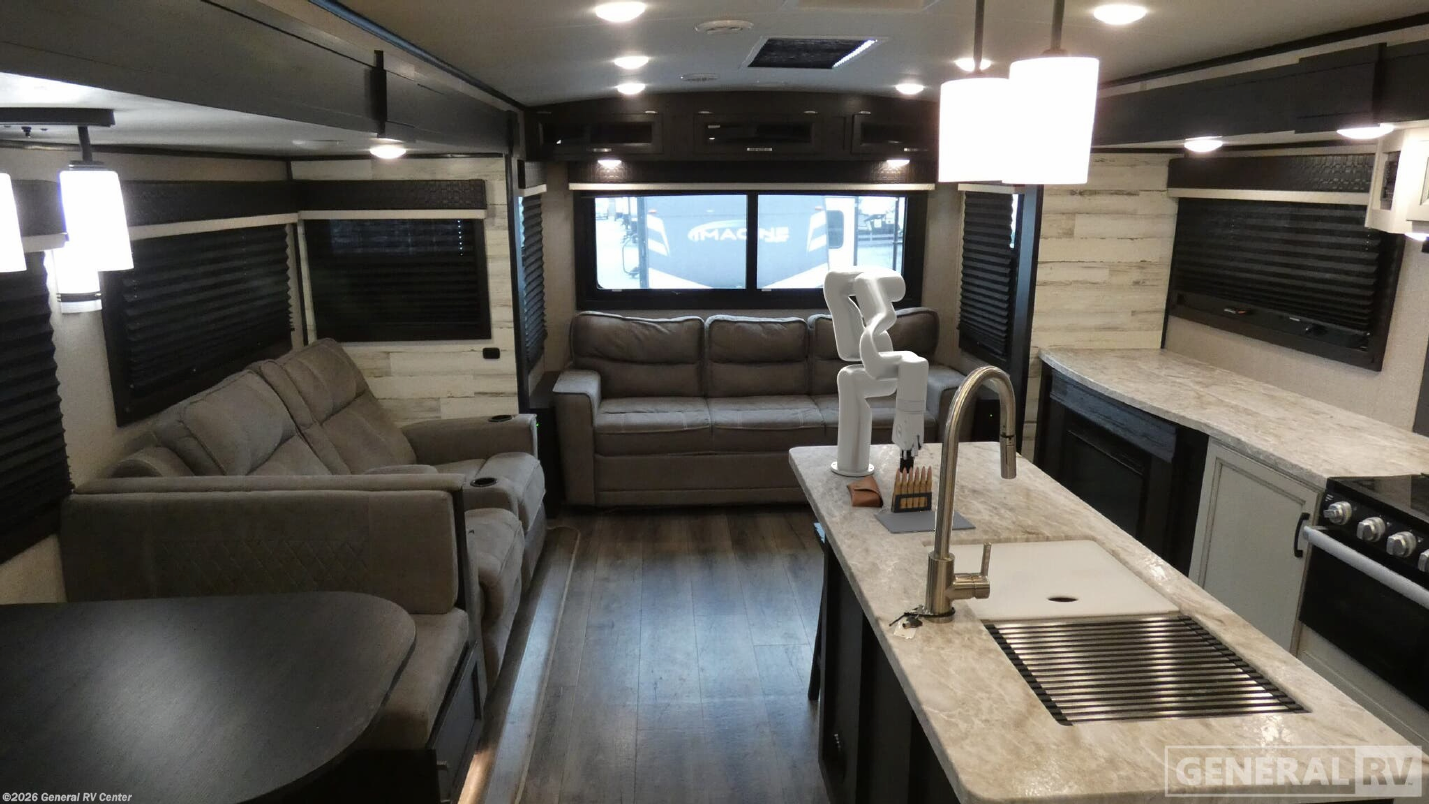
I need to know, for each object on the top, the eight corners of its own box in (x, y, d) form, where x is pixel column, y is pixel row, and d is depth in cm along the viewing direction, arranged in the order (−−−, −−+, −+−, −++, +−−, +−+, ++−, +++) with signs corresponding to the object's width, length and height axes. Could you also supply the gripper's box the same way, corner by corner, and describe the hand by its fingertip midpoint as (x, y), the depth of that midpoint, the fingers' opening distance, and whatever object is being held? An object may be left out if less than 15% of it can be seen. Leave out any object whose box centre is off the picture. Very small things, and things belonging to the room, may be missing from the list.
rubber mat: (873, 515, 228) (873, 514, 228) (954, 511, 232) (954, 509, 232) (891, 533, 217) (891, 532, 217) (975, 528, 221) (975, 526, 221)
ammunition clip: (928, 508, 234) (931, 464, 231) (931, 510, 232) (935, 466, 230) (890, 511, 232) (893, 466, 229) (893, 513, 230) (896, 469, 227)
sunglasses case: (844, 484, 251) (857, 465, 250) (864, 497, 252) (878, 478, 250) (851, 507, 234) (865, 486, 232) (873, 520, 234) (888, 500, 233)
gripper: (886, 398, 237) (882, 464, 241) (908, 412, 222) (903, 482, 227) (912, 397, 238) (908, 463, 242) (936, 411, 224) (931, 481, 228)
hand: (906, 472), depth 235 cm, fingers closed
